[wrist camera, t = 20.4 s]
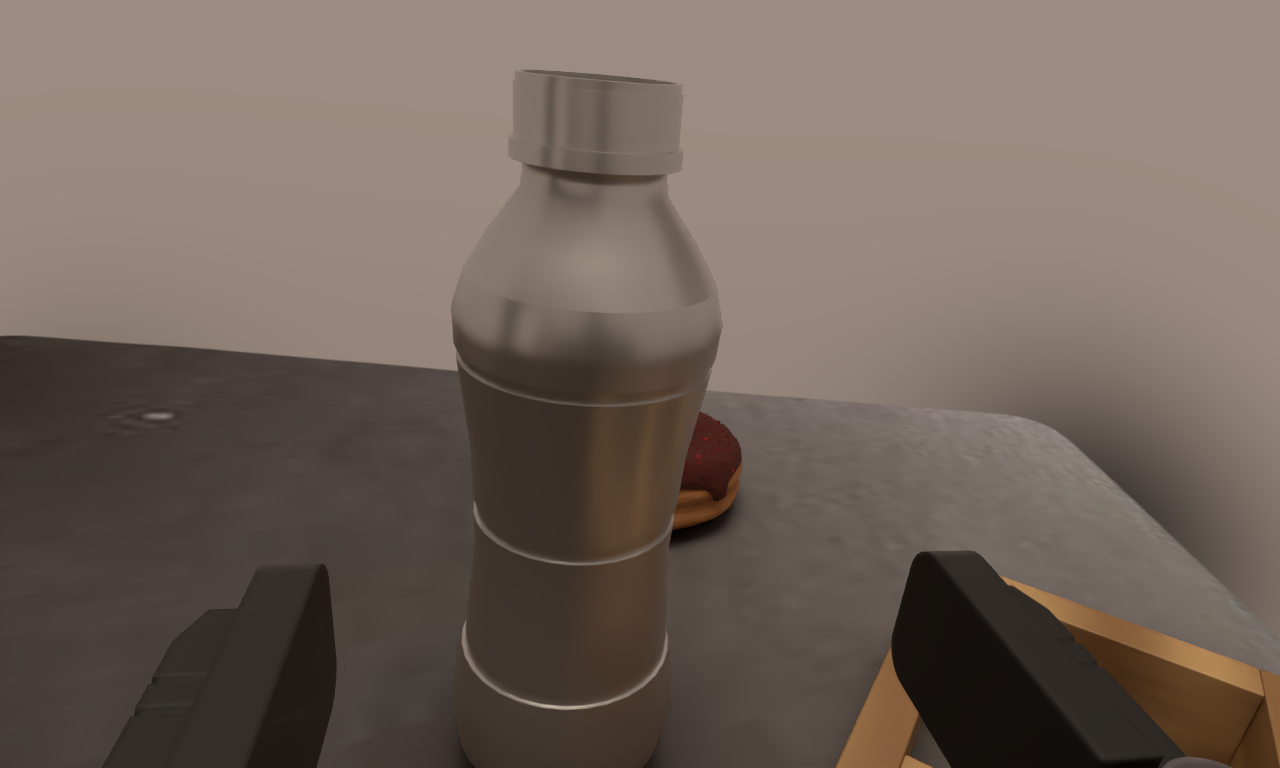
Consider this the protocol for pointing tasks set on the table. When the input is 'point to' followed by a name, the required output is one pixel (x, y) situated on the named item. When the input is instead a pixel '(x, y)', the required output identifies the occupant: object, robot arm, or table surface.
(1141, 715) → the robot arm
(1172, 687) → the caddy
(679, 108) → the grey metal bottle
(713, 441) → the donut
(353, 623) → the table surface
